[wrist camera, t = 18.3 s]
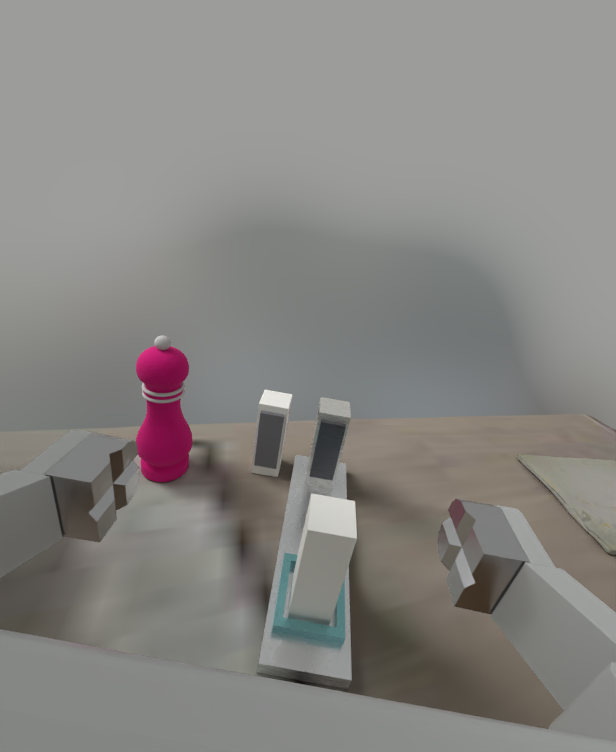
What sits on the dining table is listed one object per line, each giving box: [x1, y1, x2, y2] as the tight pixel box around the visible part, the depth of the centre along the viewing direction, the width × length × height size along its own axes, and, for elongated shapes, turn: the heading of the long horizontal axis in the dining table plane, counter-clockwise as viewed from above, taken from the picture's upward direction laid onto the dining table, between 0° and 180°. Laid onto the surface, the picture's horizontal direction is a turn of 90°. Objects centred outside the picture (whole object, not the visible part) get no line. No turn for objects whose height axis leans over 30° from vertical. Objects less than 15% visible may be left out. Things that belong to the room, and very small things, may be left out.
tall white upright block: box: [288, 493, 357, 626], centre depth 33 cm, size 4×5×12 cm
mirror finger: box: [251, 390, 292, 477], centre depth 51 cm, size 4×5×12 cm
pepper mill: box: [136, 336, 193, 482], centre depth 46 cm, size 7×7×20 cm
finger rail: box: [257, 397, 352, 689], centre depth 40 cm, size 8×28×14 cm, turn 175°
